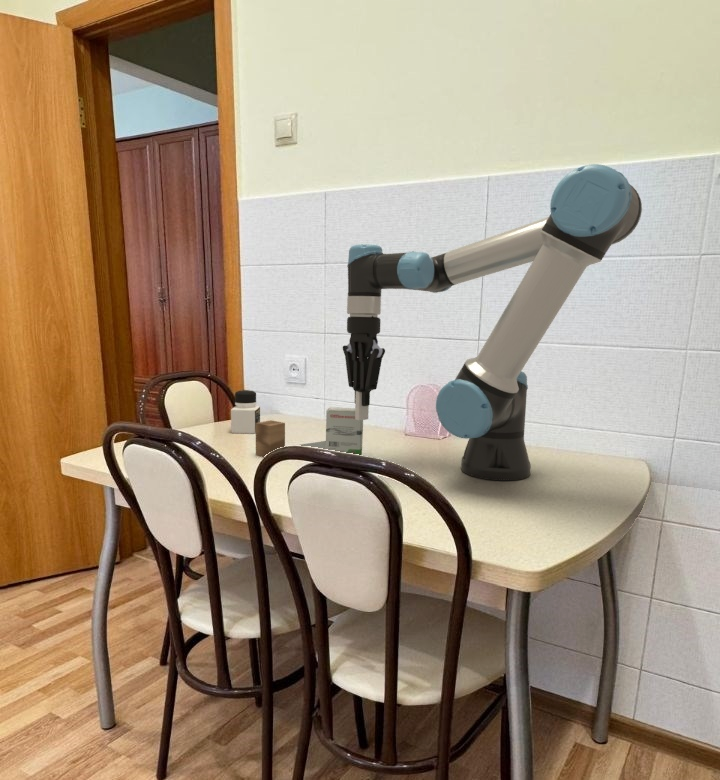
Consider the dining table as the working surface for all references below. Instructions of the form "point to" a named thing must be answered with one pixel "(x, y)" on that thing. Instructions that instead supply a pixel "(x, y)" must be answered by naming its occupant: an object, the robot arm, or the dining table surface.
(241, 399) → the medicine bottle
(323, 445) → the mat
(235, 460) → the dining table surface
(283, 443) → the walnut block
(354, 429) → the ink box
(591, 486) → the dining table surface
